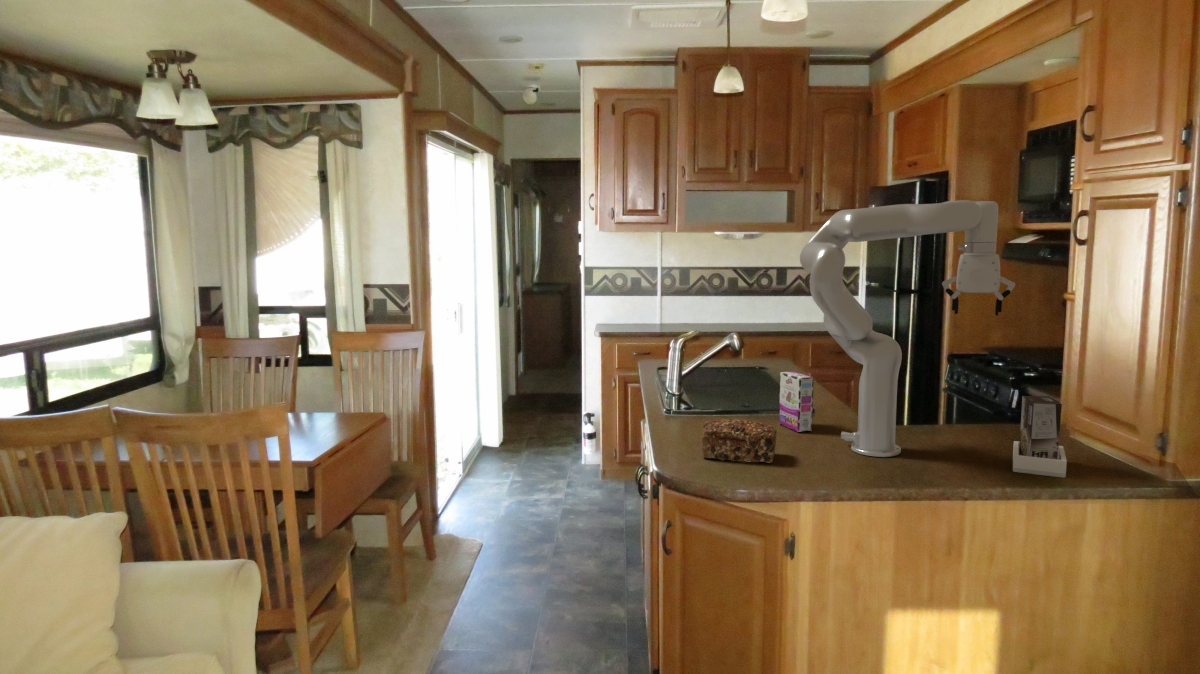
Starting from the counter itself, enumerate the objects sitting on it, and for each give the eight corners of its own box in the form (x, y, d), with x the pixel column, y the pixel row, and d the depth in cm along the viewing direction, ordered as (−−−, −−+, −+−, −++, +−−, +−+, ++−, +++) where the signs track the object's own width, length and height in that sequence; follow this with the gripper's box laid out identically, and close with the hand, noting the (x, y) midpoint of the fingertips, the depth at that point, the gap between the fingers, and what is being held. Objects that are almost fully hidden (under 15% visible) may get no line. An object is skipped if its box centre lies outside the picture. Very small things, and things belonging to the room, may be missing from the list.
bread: (701, 460, 199) (701, 423, 198) (707, 448, 209) (708, 413, 208) (773, 466, 194) (774, 428, 192) (777, 453, 204) (777, 417, 202)
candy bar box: (813, 431, 224) (814, 377, 221) (798, 433, 222) (799, 378, 220) (792, 422, 234) (793, 370, 232) (778, 424, 233) (779, 371, 230)
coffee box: (1058, 468, 184) (1062, 403, 182) (1028, 467, 185) (1033, 402, 183) (1045, 457, 193) (1050, 395, 190) (1017, 456, 194) (1021, 394, 192)
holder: (1012, 471, 186) (1013, 455, 185) (1012, 455, 198) (1013, 441, 197) (1065, 477, 180) (1066, 461, 180) (1062, 461, 193) (1063, 446, 192)
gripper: (942, 249, 199) (939, 314, 202) (1017, 249, 191) (1013, 317, 194) (944, 248, 206) (941, 311, 208) (1017, 248, 198) (1013, 313, 200)
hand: (976, 314), depth 201 cm, fingers open, 9 cm apart
